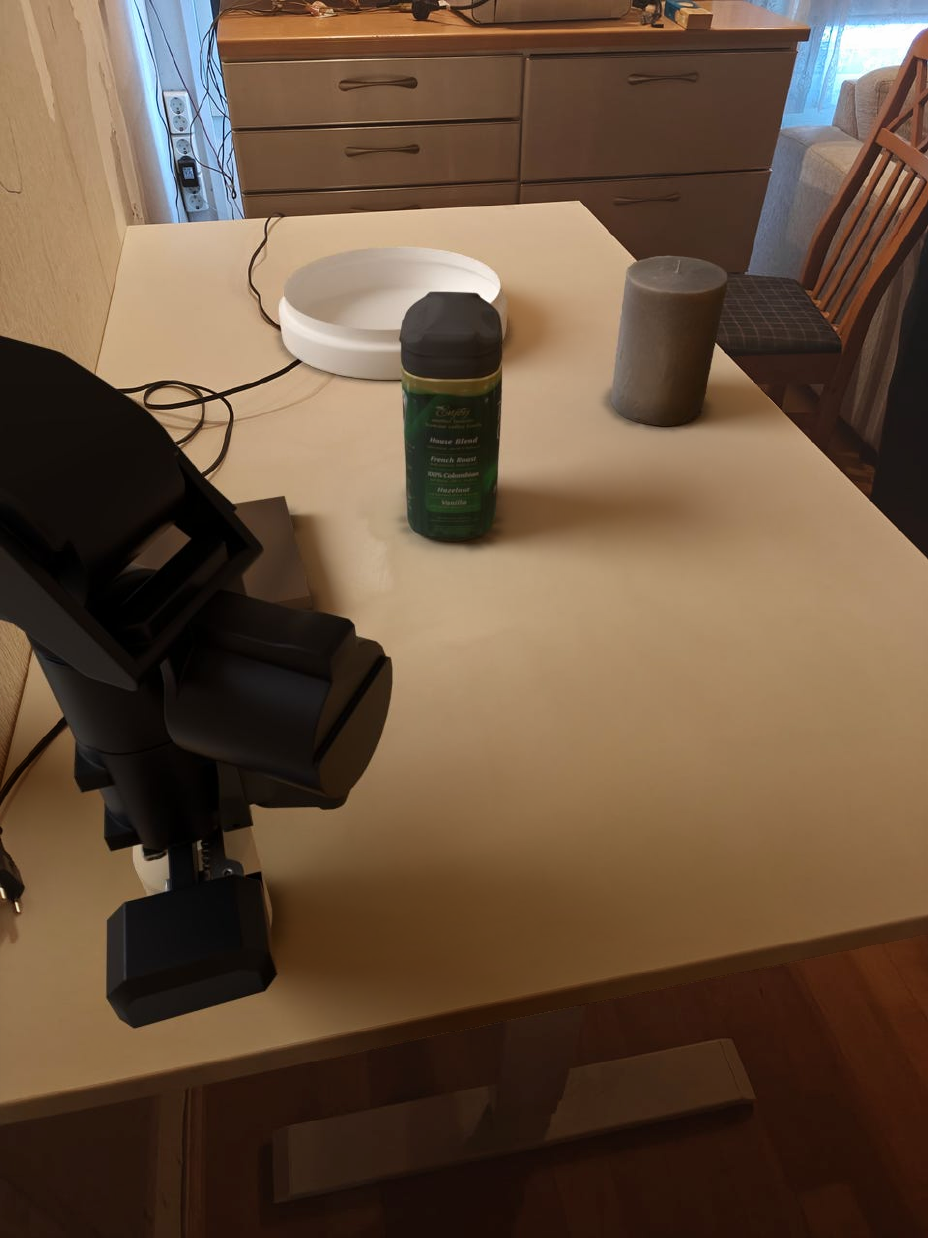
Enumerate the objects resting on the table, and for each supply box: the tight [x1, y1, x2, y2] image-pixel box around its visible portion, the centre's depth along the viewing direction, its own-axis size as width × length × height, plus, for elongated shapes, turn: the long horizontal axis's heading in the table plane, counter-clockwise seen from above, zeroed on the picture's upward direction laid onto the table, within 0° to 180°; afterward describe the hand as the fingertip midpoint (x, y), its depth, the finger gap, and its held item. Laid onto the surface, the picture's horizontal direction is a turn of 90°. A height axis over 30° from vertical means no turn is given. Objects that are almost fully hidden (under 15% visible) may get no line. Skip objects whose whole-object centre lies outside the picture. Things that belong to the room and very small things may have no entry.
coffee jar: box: [399, 292, 504, 542], centre depth 70 cm, size 10×8×19 cm
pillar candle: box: [610, 255, 729, 427], centre depth 87 cm, size 10×10×15 cm
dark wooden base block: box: [132, 495, 314, 611], centre depth 69 cm, size 14×14×2 cm
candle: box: [132, 826, 273, 928], centre depth 44 cm, size 6×6×10 cm
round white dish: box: [278, 246, 508, 381], centre depth 103 cm, size 27×27×6 cm
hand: (217, 902), depth 46 cm, fingers closed on candle, 5 cm apart
